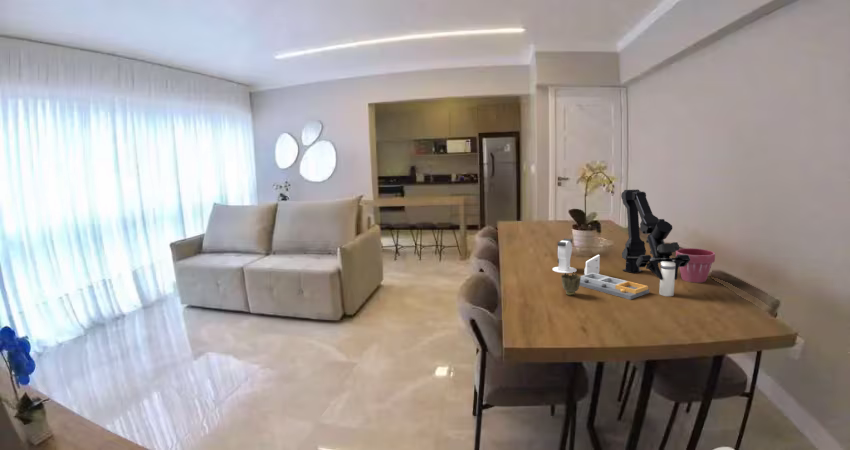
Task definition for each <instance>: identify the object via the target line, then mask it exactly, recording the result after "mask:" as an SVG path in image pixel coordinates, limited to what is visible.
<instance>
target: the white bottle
mask: <svg viewBox="0 0 850 450" xmlns="http://www.w3.org/2000/svg"><path fill="white" fill-rule="evenodd" d="M675 264H676V263H675V262H670V261H662V262H661V263H660V266H659V269H660V271H661V274H662V278H663V279H662V280H660V279H659V290H658V291H659V292H658V294H659V295H660V296H663V297H673V296H674V295H675V281H676V280H675V266H676V265H675Z"/></svg>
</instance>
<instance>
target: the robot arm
mask: <svg viewBox="0 0 850 450" xmlns="http://www.w3.org/2000/svg"><path fill="white" fill-rule="evenodd" d="M646 193H647V192H646V191H641V190H639V189H624V190H623V192H621V194H620V196H621V199H622V204H623V205H624V207H625V208H626V211H627V213H626V214H627V215H626V216H627V217H626V218H627V229H628V231H627V232H628V233H627V234H628V238H627V241H626V242H625V244H624V245H625V246H624V248H623V251H622V253H621V258H623V259H624V260H625V268H624V269H622V272H623V271H624V272H628V273H633V274H637V273H640V272H643V269H640V268H646V270H647V269H648V270H649V271H651V272H652V273H653V274H654V275H655V276H656V277H657V278H658V279H659V281H660V280H662V279H663V278H662V274H661V271H660V269H661V268H660V266H659V264H661V262H662V261H670V262H675V263H676V264H675V265H676V266H675V281H677V279H678V271H679V267H684V266H686V265H687V263H688V262H689V261H690V260H691V259H690V257H689V255H687V254H678V255H677V256H676V255H675V257H672V256H673V253H676V251H677V250H679V249H680V244H679V242H678V241H677V242H675V241H674V242H671V243H665V239H667V238H668V236H669V235H670V233H671V232H672V230H673V225H672V224H671V223H670V222H668V221H665V218H658V216H656V215H654V214H653V212H652V209H651V206H650V204H649V201H648V199H647V194H646ZM639 216H640V217H639ZM639 219H641V221H640V220H639ZM640 231H641V233H642V234H644V235H648V236H647V237H646V239H645V241H644V240H642V238H641V237H640V235H641V234H640ZM645 242H646V243H647V244H648V245H649V249H650V251H649V252H650V254H651V255H650V254H647V249H646V245H645V244H646V243H645Z"/></svg>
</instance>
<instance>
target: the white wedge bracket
mask: <svg viewBox="0 0 850 450" xmlns="http://www.w3.org/2000/svg"><path fill="white" fill-rule="evenodd" d="M600 256H601V255H600V254H596V255H595V256H593V257H592V258H590V259H588V260H586V261H585V267H584V270H583V271H584V272H583V275H586V274H590V273H596V274H600V260H601V257H600Z"/></svg>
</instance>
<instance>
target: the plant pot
mask: <svg viewBox="0 0 850 450" xmlns="http://www.w3.org/2000/svg"><path fill="white" fill-rule="evenodd" d="M678 254H687V255H689V257H690V259H691V260H690V261H689V262H688V263H687V265H686V266H684V267H678V269H679V273H680V277H681V280H682V281H685V282H688V283H698V284H699V283H701V284H702V283H705V282H706V281H707V279H708V276H709V274H710V271H711V268H712V264H713V263H715V261H716V252H714V251H712V250H709V249H704V248H696V247H695V248H694V247H693V248H689V247H685V248H679V250H677V251H675V257H676V256H677V255H678Z"/></svg>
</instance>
